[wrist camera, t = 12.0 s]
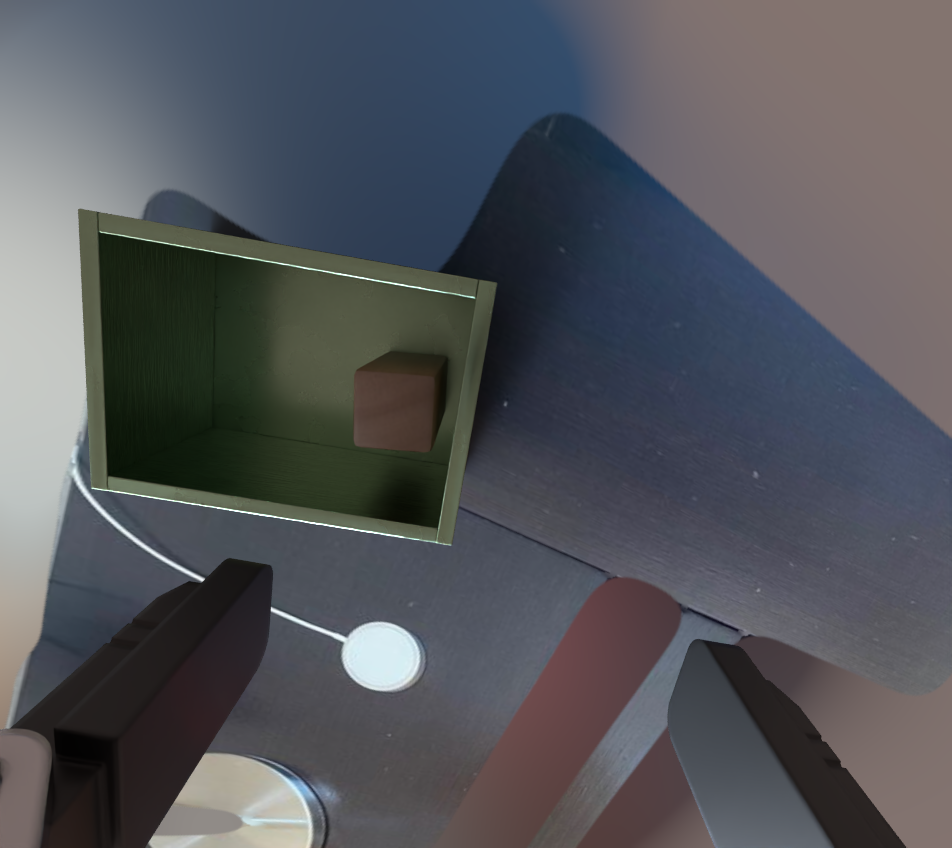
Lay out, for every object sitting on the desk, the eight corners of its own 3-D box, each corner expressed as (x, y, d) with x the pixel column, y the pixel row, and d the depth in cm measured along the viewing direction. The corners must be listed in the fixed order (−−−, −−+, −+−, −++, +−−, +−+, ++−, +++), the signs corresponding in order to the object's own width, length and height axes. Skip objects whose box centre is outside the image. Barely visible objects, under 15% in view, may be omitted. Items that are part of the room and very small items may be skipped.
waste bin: (492, 288, 29) (497, 282, 20) (460, 475, 32) (451, 545, 23) (209, 238, 28) (77, 208, 19) (205, 433, 32) (90, 488, 22)
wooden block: (444, 416, 31) (432, 455, 23) (383, 411, 31) (350, 449, 23) (448, 355, 30) (437, 375, 22) (385, 350, 29) (351, 367, 22)
